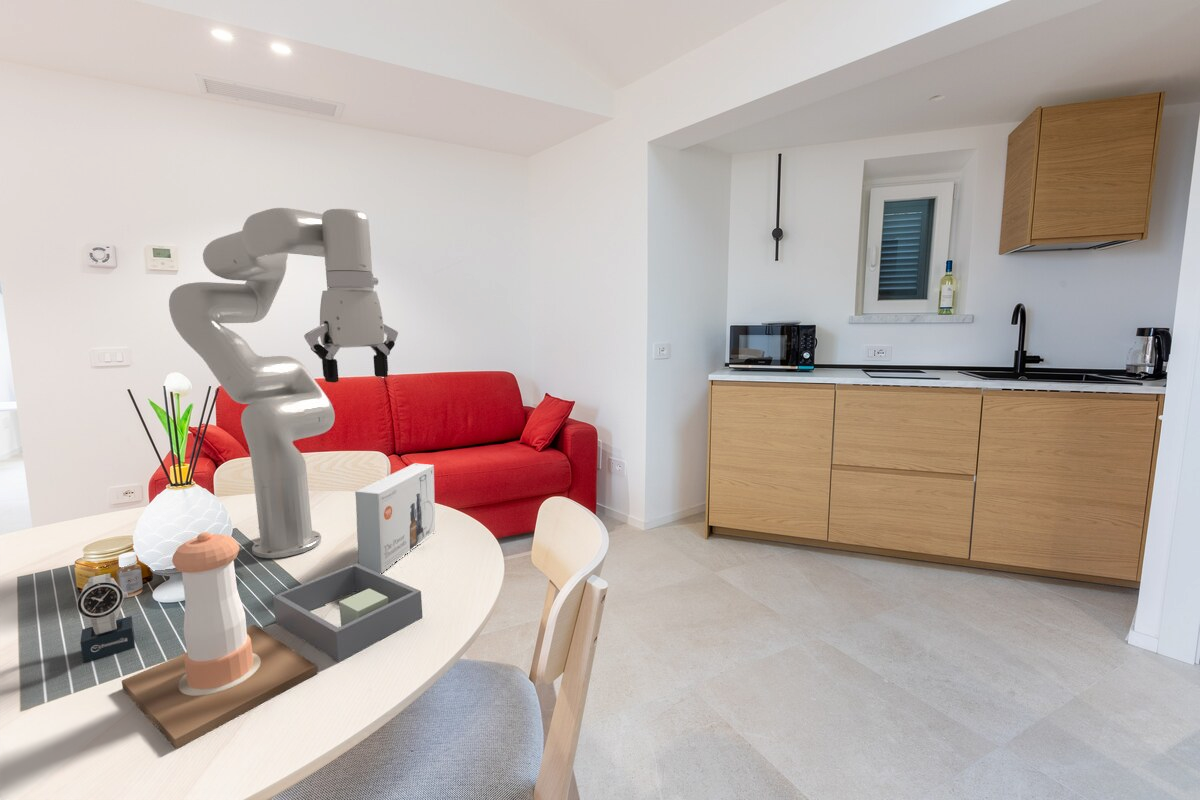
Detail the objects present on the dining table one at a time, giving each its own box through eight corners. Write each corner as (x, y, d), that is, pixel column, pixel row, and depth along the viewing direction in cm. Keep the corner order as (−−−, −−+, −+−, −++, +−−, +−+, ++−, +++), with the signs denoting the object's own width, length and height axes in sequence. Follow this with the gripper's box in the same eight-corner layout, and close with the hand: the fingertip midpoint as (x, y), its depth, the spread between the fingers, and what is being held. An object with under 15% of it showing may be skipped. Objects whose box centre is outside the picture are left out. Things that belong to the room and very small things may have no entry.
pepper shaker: (243, 683, 71) (226, 540, 68) (176, 694, 69) (156, 548, 66) (260, 650, 78) (245, 520, 75) (200, 660, 76) (183, 526, 73)
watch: (82, 669, 77) (70, 594, 75) (86, 643, 83) (74, 573, 81) (135, 653, 80) (125, 581, 78) (135, 629, 86) (125, 562, 85)
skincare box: (383, 575, 104) (377, 493, 101) (357, 573, 105) (351, 491, 102) (438, 532, 124) (434, 463, 122) (416, 530, 125) (411, 462, 123)
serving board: (122, 689, 72) (121, 679, 72) (255, 631, 85) (254, 623, 85) (176, 749, 62) (174, 738, 62) (317, 673, 75) (316, 664, 75)
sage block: (341, 632, 85) (339, 601, 84) (371, 617, 89) (369, 588, 88) (360, 642, 82) (357, 611, 82) (390, 627, 86) (388, 597, 86)
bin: (275, 622, 88) (272, 596, 87) (357, 587, 99) (356, 563, 98) (338, 662, 77) (336, 632, 77) (422, 617, 89) (420, 591, 88)
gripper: (381, 285, 108) (387, 373, 110) (289, 282, 94) (298, 382, 96) (405, 284, 104) (410, 375, 106) (313, 279, 90) (322, 385, 92)
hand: (357, 379), depth 101 cm, fingers open, 9 cm apart
